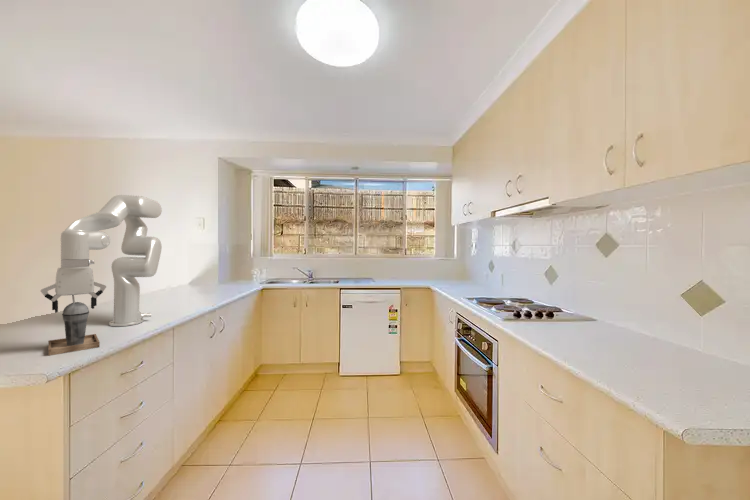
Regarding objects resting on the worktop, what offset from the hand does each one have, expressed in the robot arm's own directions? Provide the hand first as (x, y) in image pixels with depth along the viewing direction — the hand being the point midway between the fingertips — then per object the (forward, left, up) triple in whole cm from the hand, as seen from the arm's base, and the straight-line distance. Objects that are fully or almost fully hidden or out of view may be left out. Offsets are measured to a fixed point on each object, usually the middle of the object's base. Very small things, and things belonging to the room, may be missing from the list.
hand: (75, 309), depth 114 cm
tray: (0, 0, -14) cm, 14 cm away
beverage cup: (0, 0, -13) cm, 13 cm away
